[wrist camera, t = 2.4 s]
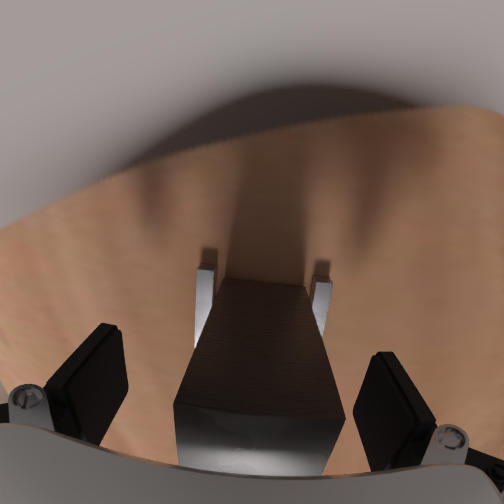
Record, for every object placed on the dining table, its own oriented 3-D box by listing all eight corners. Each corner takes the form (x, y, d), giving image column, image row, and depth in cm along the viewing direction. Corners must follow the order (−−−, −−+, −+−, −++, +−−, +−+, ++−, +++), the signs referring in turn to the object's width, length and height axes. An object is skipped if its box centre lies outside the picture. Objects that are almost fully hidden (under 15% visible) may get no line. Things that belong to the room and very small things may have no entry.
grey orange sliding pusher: (334, 289, 15) (400, 415, 6) (288, 464, 18) (292, 567, 10) (193, 274, 15) (114, 389, 6) (193, 455, 18) (168, 555, 10)
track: (328, 276, 15) (333, 283, 14) (288, 447, 18) (289, 457, 17) (201, 263, 15) (197, 269, 14) (197, 438, 18) (195, 448, 17)
